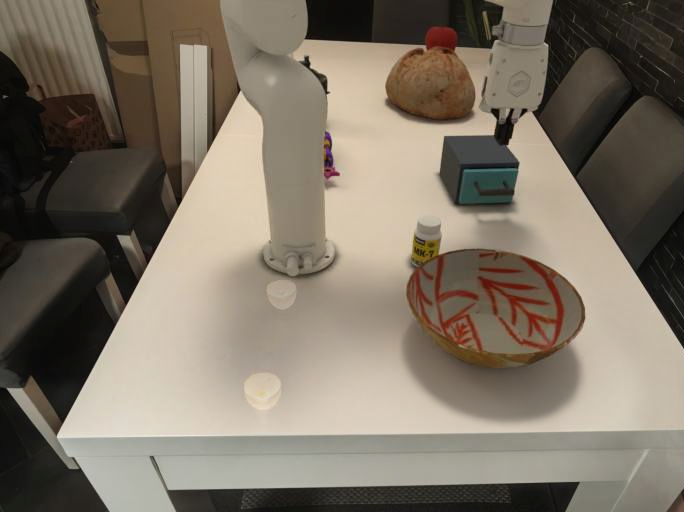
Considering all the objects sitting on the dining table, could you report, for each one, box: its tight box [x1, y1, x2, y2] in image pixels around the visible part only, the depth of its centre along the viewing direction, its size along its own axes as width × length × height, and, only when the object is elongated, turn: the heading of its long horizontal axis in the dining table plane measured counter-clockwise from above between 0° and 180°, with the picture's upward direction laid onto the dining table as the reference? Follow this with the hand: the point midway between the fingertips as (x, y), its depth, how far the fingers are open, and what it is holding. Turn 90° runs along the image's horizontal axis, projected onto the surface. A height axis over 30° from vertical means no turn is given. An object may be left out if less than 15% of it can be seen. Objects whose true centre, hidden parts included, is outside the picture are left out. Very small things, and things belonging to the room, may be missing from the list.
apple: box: [424, 26, 459, 52], centre depth 188 cm, size 11×11×12 cm
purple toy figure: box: [324, 130, 341, 180], centre depth 122 cm, size 14×25×12 cm, turn 5°
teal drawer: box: [459, 167, 519, 205], centre depth 114 cm, size 18×11×7 cm, turn 8°
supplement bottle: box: [410, 214, 443, 268], centre depth 95 cm, size 5×5×8 cm
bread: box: [384, 46, 476, 121], centre depth 153 cm, size 26×23×15 cm
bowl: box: [406, 248, 586, 369], centre depth 80 cm, size 25×25×8 cm
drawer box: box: [439, 134, 521, 205], centre depth 117 cm, size 14×12×9 cm
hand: (501, 142), depth 103 cm, fingers closed
